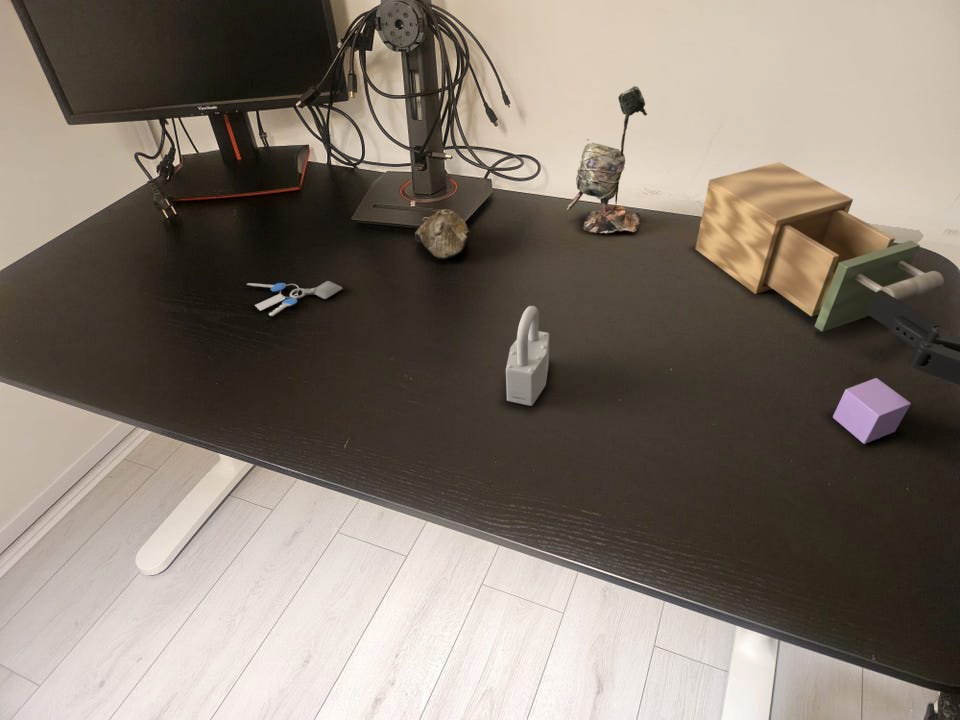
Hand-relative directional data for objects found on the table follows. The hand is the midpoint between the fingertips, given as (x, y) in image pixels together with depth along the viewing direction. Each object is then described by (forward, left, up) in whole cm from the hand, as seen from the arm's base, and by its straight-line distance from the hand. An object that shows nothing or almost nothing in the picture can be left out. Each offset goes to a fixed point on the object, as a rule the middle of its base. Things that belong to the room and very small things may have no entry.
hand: (923, 284), depth 64 cm
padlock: (+41, +2, -9) cm, 43 cm away
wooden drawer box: (+7, -20, -9) cm, 23 cm away
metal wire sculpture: (+26, -33, -9) cm, 44 cm away
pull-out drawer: (+3, -8, -8) cm, 12 cm away
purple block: (+8, +11, -9) cm, 16 cm away
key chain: (+72, -17, -9) cm, 75 cm away
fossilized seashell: (+51, -29, -9) cm, 60 cm away
